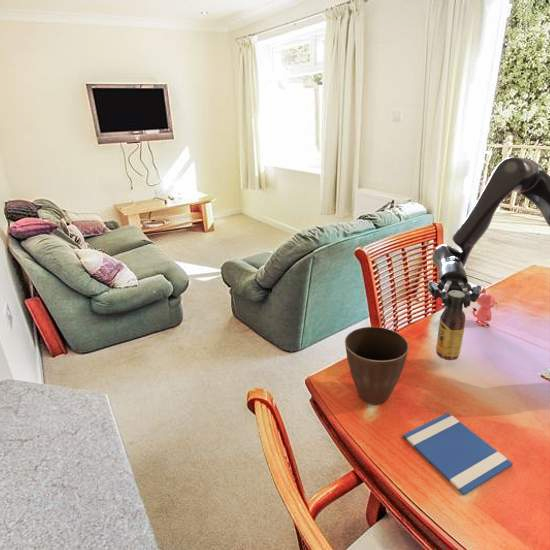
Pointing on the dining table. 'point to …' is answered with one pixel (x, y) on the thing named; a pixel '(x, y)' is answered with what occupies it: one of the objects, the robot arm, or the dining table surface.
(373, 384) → the flower pot
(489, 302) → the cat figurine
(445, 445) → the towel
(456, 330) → the sauce bottle
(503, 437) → the dining table surface
